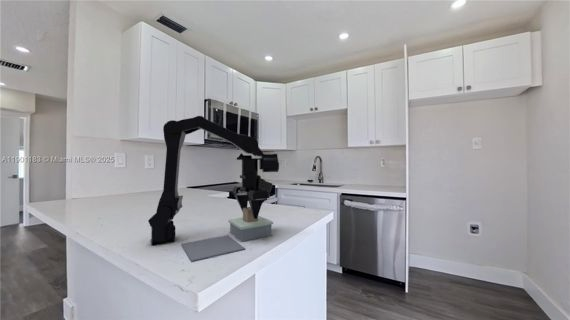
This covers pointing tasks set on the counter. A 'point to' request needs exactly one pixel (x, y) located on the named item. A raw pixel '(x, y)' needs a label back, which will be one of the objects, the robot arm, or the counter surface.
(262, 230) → the dish
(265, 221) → the lid
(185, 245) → the mat
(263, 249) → the counter surface
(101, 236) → the counter surface
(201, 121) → the robot arm
